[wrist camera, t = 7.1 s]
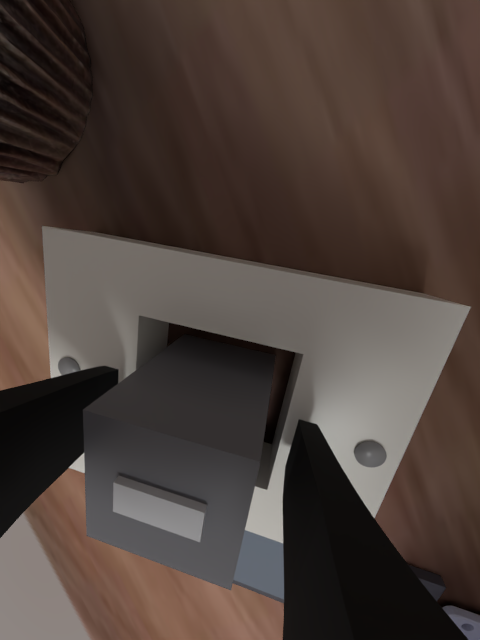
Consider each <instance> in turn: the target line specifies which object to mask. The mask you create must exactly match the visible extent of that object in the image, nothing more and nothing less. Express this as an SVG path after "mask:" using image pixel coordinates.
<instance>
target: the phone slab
mask: <svg viewBox="0 0 480 640" xmlns="http://www.w3.org/2000/svg"><path fill="white" fill-rule="evenodd" d="M409 567H410V568H411V569H412V571H413V572H414V573H415V575H416V576H417V577H418V579H419V580H420V581H421V582H422V584H423V585H424V586H425V587H426V589H427V590H428V591H429V592H430V594H431V595H432V596H433V597H434V599H435V600H436V601H438V599H439V598H440V596H441V594H442V593H443V591H444V590H445V588H446V587H445V584H444V582H443V580H442V578H441V576H440V575H437V574H434V573H431V572H428V571H425V570H422V569H419V568H416V567H413V566H411V565H409ZM233 583H234V584H236V585H239V586H241V587H244V588H247V589H249V590H252V591H254V592H257V593H259V594H262V595H264V596H267V597H269V598H272V599H274V600H277V601H280V602H282V603H284V556H283V543H280V542H278V541H275V540H272V539H269V538H266V537H263V536H261V535H258V534H255V533H252V532H249V531H247V530H245V531H244V536H243V540H242V544H241V549H240V553H239V557H238V562H237V566H236V570H235V575H234V579H233Z"/></svg>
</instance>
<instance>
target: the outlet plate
mask: <svg viewBox="0 0 480 640" xmlns="http://www.w3.org/2000/svg"><path fill="white" fill-rule="evenodd" d="M42 236H43V253H44V270H45V287H46V304H47V321H48V338H49V355H50V372H51V378H54V377H58V376H61V375H65V374H69V373H73V372H77V371H81V370H85V369H89V368H93V367H99V366H108V367H112V368H115V369H119V373H118V383H119V382H121V381H122V380H124V379H125V378H126V377H128V376H129V375H130V374H132V373H133V372H134V371H136V370H137V369H138V368H140V367H141V366H142V365H144V364H145V363H146V362H148V361H149V360H150V359H152V358H153V357H154V356H156V355H157V354H158V353H160V352H161V351H162V350H164V349H165V348H166V347H167V340H168V329H169V323H173V324H178V325H182V326H186V327H190V328H195V329H199V330H203V331H207V332H212V333H216V334H220V335H224V336H228V337H233V338H237V339H241V340H245V341H250V342H254V343H258V344H262V345H267V346H271V347H275V348H279V349H283V350H288V351H292V352H296V353H295V357H294V361H293V365H292V368H291V372H290V376H289V380H288V384H287V388H286V392H285V396H284V399H283V403H282V407H281V411H280V415H279V419H278V423H277V427H276V431H275V434H274V438H273V442H272V444H269V443H266V442H263V448H262V455H261V462H260V466H259V471H258V475H257V479H256V484H255V488H254V492H253V497H252V501H251V505H250V510H249V514H248V518H247V523H246V527H245V530H247V531H249V532H252V533H255V534H258V535H261V536H263V537H266V538H269V539H272V540H275V541H278V542H280V543H283V487H284V475H285V466H286V462H287V459H288V455H289V452H290V448H291V445H292V441H293V438H294V434H295V431H296V427H297V424H298V420H299V419H300V420H304V421H307V422H311V423H315V424H317V425H318V426H319V428H320V430H321V432H322V433H323V435H324V437H325V439H326V441H327V443H328V444H329V446H330V448H331V450H332V451H333V453H334V455H335V457H336V459H337V460H338V462H339V464H340V465H341V467H342V469H343V470H344V472H345V474H346V475H347V477H348V479H349V480H350V482H351V484H352V485H353V487H354V488H355V490H356V492H357V493H358V495H359V496H360V498H361V499H362V501H363V503H364V504H365V506H366V507H367V508H368V510H369V511H370V513H371V514H372V516H373V517H374V518H375V516H376V514H377V512H378V510H379V507H380V505H381V503H382V501H383V499H384V496H385V494H386V492H387V490H388V488H389V485H390V483H391V481H392V479H393V477H394V474H395V472H396V470H397V468H398V466H399V464H400V461H401V459H402V457H403V455H404V453H405V450H406V448H407V446H408V444H409V442H410V439H411V437H412V435H413V433H414V431H415V428H416V426H417V424H418V422H419V420H420V418H421V415H422V413H423V411H424V409H425V407H426V404H427V402H428V400H429V398H430V396H431V393H432V391H433V389H434V387H435V385H436V382H437V380H438V378H439V376H440V374H441V371H442V369H443V367H444V365H445V363H446V361H447V358H448V356H449V354H450V352H451V350H452V347H453V345H454V343H455V341H456V339H457V336H458V334H459V332H460V330H461V328H462V325H463V323H464V321H465V319H466V317H467V315H468V312H469V310H470V308H471V307H470V306H466V305H463V304H459V303H456V302H452V301H449V300H445V299H442V298H438V297H435V296H431V295H428V294H424V293H419V292H414V291H408V290H403V289H398V288H392V287H387V286H381V285H376V284H371V283H365V282H360V281H355V280H349V279H344V278H339V277H333V276H328V275H323V274H317V273H312V272H306V271H301V270H296V269H290V268H285V267H280V266H274V265H269V264H264V263H258V262H253V261H247V260H242V259H237V258H231V257H226V256H221V255H215V254H210V253H205V252H199V251H194V250H189V249H183V248H178V247H172V246H167V245H162V244H156V243H151V242H146V241H140V240H135V239H130V238H124V237H119V236H114V235H108V234H103V233H97V232H91V231H82V230H74V229H65V228H57V227H49V226H42ZM69 468H71V469H74V470H77V471H80V472H83V473H85V461H84V453H83V454H82V455H81V456H80V457H79V458H78V459H77V460H76V461H75V462H74V463H73V464H72V465H71V466H70V467H69Z"/></svg>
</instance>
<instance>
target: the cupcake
mask: <svg viewBox="0 0 480 640" xmlns="http://www.w3.org/2000/svg"><path fill="white" fill-rule="evenodd" d="M90 64H91V59H90V57H89V54H88V51H87V46H86V39H85V33H84V28H83V25H82V23H81V21H80V19H79V17H78V15H77V13H76V11H75V9H74V7H73V5H72V4H71V2H70V0H0V180H4V181H12V182H19V183H24V182H27V181H42V180H44V179H45V178H46V177H47V176H48V175H57V174H58V171H59V169H60V166H61V164H62V161H63V160H64V159H65V158H66V156H67V155H68V154H69V153H70V152H71V151H72V150H73V149H74V148H75V146H76V145H77V144H78V142H79V141H80V140H81V137H82V134H83V132H84V129H85V126H86V119H87V116H88V114H89V112H90V102H91V99H92V96H93V93H92V74H91V70H90Z"/></svg>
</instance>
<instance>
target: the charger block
mask: <svg viewBox="0 0 480 640" xmlns="http://www.w3.org/2000/svg"><path fill="white" fill-rule="evenodd" d="M275 358H276V355H273V354H269V353H265V352H260V351H256V350H252V349H247V348H243V347H238V346H234V345H230V344H225V343H221V342H217V341H212V340H208V339H204V338H199V337H195V336H190V335H186V334H184V335H182V336H181V337H180V338H178V339H177V340H176V341H174V342H173V343H172V344H170V345H169V346H168V347H166V348H165V349H164V350H162V351H161V352H160V353H158V354H157V355H156V356H154V357H153V358H152V359H150V360H149V361H148V362H146V363H145V364H144V365H142V366H141V367H140V368H138V369H137V370H136V371H134V372H133V373H132V374H130V375H129V376H128V377H126V378H125V379H124V380H122V381H121V382H119V383H118V384H117V385H115V386H114V387H113V388H111V389H110V390H109V391H107V392H106V393H105V394H103V395H102V396H101V397H99V398H98V399H97V400H95V401H94V402H93V403H91V404H90V405H89V406H87V407H86V408H85V409H83V429H84V461H85V494H86V526H87V536H89V537H91V538H94V539H97V540H99V541H102V542H105V543H107V544H110V545H112V546H115V547H118V548H120V549H123V550H126V551H128V552H131V553H134V554H136V555H139V556H142V557H144V558H147V559H150V560H152V561H155V562H157V563H160V564H163V565H165V566H168V567H171V568H173V569H176V570H179V571H181V572H184V573H187V574H189V575H192V576H194V577H197V578H200V579H202V580H205V581H208V582H210V583H213V584H216V585H218V586H221V587H224V588H226V589H229V590H231V588H232V583H233V579H234V575H235V570H236V566H237V562H238V557H239V553H240V549H241V544H242V540H243V536H244V531H245V527H246V523H247V518H248V514H249V510H250V505H251V501H252V497H253V492H254V488H255V484H256V479H257V475H258V471H259V466H260V462H261V455H262V448H263V441H264V434H265V427H266V420H267V413H268V406H269V399H270V393H271V386H272V379H273V372H274V365H275Z"/></svg>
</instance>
